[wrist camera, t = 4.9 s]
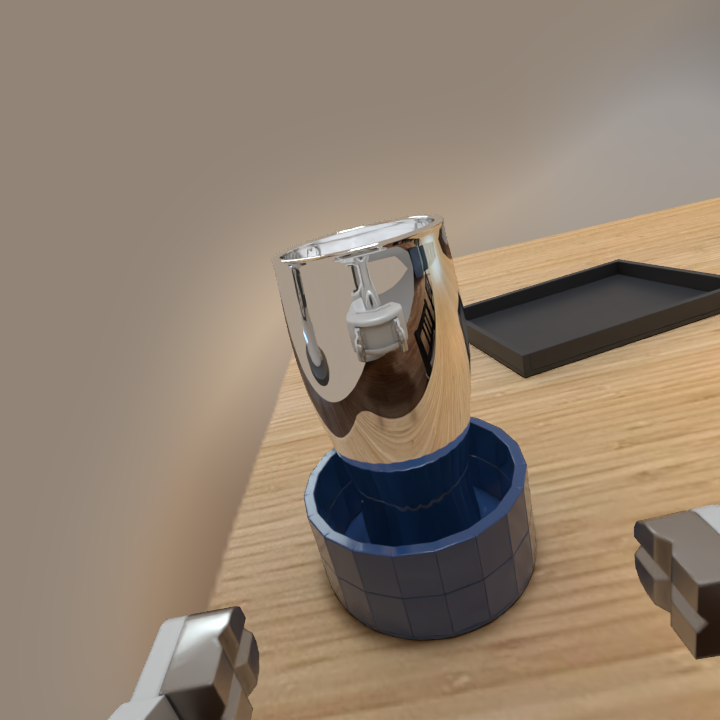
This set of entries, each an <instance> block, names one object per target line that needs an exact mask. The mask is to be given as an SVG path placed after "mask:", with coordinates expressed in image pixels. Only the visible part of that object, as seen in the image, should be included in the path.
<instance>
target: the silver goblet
mask: <svg viewBox="0 0 720 720" xmlns="http://www.w3.org/2000/svg"><path fill="white" fill-rule="evenodd" d="M271 261H272V264H273V266H274V270H275V274H276V278H277V283H278V287H279V292H280V297H281V302H282V306H283V310H284V315H285V319H286V324H287V328H288V332H289V336H290V340H291V343H292V347H293V351H294V354H295V358H296V362H297V365H298V368H299V370H300V373H301V376H302V379H303V382H304V385H305V388H306V391H307V393H308V395H309V398H310V400H311V402H312V404H313V406H314V409H315V411H316V413H317V415H318V417H319V419H320V422H321V423H322V425H323V427H324V429H325V431H326V433H327V435H328V437H329V439H330V441H331V443H332V445H333V446H334V448H335V450H336V452H337V454H338V456H339V457H340V459H341V461H342V463H343V465H344V467H345V469H346V471H347V473H348V475H349V477H350V479H351V481H352V483H353V485H354V487H355V489H356V492H357V495H358V497H359V500H360V504H361V508H362V513H363V523H364V539H365V543H370V544H377V545H385V546H392V547H395V546H404V545H412V544H420V543H429V542H434V541H437V540H439V539H442V538H445V537H447V536H450V535H453V534H455V533H458V532H461V531H464V530H466V529H468V528H470V527H471V526H473V525H474V524H475V523H477V522H478V521H480V520H481V519H482V518H484V517H485V516H484V514H483V512H482V509H481V507H480V505H479V502H478V500H477V497H476V494H475V491H474V488H473V484H472V479H471V474H470V464H469V435H470V407H471V366H470V349H469V341H468V333H467V325H466V319H465V314H464V308H463V303H462V298H461V293H460V288H459V284H458V280H457V276H456V272H455V267H454V264H453V260H452V256H451V252H450V248H449V245H448V241H447V237H446V232H445V227H444V218H443V217H442V216H441V215H437V214H425V215H415V216H407V217H401V218H395V219H389V220H385V221H379V222H375V223H370V224H366V225H362V226H357V227H353V228H349V229H346V230H342V231H338V232H334V233H331V234H327V235H324V236H321V237H318V238H315V239H311V240H308V241H305V242H303V243H300V244H297V245H294V246H292V247H289V248H287V249H285V250H283V251H281V252H279V253H277V254H276V255H274V256H273V257H272V259H271Z"/></svg>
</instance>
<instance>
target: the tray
mask: <svg viewBox="0 0 720 720" xmlns="http://www.w3.org/2000/svg"><path fill="white" fill-rule="evenodd" d="M463 308H464V314H465V319H466V325H467V333H468V341H469V343H471V344H472V345H474V346H476V347H477V348H479V349H480V350H482V351H484V352H485V353H487V354H488V355H490V356H491V357H493V358H495V359H496V360H498V361H499V362H501V363H502V364H504V365H506V366H507V367H509V368H510V369H512V370H513V371H515V372H517V373H518V374H520V375H521V376H523V377H525V378H526V377H529V376H532V375H535V374H538V373H541V372H544V371H547V370H550V369H553V368H556V367H559V366H562V365H565V364H568V363H571V362H574V361H577V360H580V359H583V358H586V357H589V356H592V355H595V354H598V353H601V352H604V351H607V350H610V349H613V348H616V347H619V346H622V345H625V344H628V343H631V342H634V341H637V340H640V339H643V338H646V337H649V336H652V335H655V334H658V333H661V332H664V331H667V330H670V329H673V328H676V327H679V326H682V325H685V324H689V323H692V322H695V321H698V320H701V319H704V318H707V317H710V316H713V315H716V314H719V313H720V275H716V274H710V273H703V272H697V271H690V270H684V269H677V268H671V267H664V266H658V265H651V264H645V263H639V262H632V261H626V260H619V259H618V260H615V261H612V262H608V263H605V264H602V265H598V266H595V267H592V268H589V269H585V270H582V271H579V272H575V273H572V274H569V275H566V276H562V277H559V278H556V279H552V280H549V281H546V282H543V283H539V284H536V285H533V286H529V287H526V288H523V289H519V290H516V291H513V292H510V293H506V294H503V295H500V296H496V297H493V298H490V299H487V300H483V301H480V302H477V303H473V304H470V305H467V306H463Z"/></svg>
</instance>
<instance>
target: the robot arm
mask: <svg viewBox="0 0 720 720" xmlns="http://www.w3.org/2000/svg"><path fill="white" fill-rule="evenodd" d="M634 537H635V538H636V539H637V541H638V542H639V543H640V544H641V546H640V547H639V549H638V550H637V551H636V553H635V567H636V570H637V573H638V576H639V579H640V582H641V584H642V585H643V587H644V589H645V591H646V593H647V594H648V595H649V597H650V598H651V600H652V601H653V602H654V604H655V605H657V606H659V607H661V608H662V609H664V610H666V611H668V612H670V613H671V627H672V628H673V630H674V631H675V632H676V634H677V635H678V636H679V638H680V639H681V640H682V642H683V643H684V644H685V646H686V647H687V648H688V650H689V651H690V652H691V654H692V655H693V656H694V658H695V659H702V658H708V657H714V656H720V506H719V505H717V504H713V505H708V506H703V507H699V508H694V509H690V510H688V511H686V510H685V511H680V512H676V513H671V514H667V515H662V516H658V517H653V518H649V519H644V520H640V521H637V522H636V524H635V526H634ZM245 619H246V618H245V616H244V614H243V612H242V610H241V608H240V607H236V606H235V607H229V608H224V609H218V610H213V611H207V612H202V613H196V614H191V615H188V616H182V617H177V618H171V619H167V620H166V621H165V622H164V623H163V624H162V625H161V627H160V629H159V632H158V634H157V636H156V639H155V641H154V644H153V646H152V649H151V651H150V653H149V656H148V658H147V661H146V663H145V666H144V668H143V671H142V673H141V675H140V678H139V680H138V683H137V685H136V688H135V690H134V693H133V695H132V697H131V700H130V702H127V703H123V704H121V706H120V707H119V708H118V709H117V710H116V711H115V712H114V713H113V714H112V715H111V716H110V718H109V719H108V720H251V717H252V711H253V708H252V706H251V703H250V701H249V699H248V696H249V695H250V694H251V692H252V691H253V689H254V688H255V687H256V685H257V681H258V674H259V651H258V647H257V643H256V640H255V638H254V635H253V633H252V632H250V631H248V630H246V629H245V628H244V623H245Z"/></svg>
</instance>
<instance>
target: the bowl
mask: <svg viewBox="0 0 720 720" xmlns="http://www.w3.org/2000/svg"><path fill="white" fill-rule="evenodd" d="M469 464H470V474H471V479H472V484H473V488H474V491H475V494H476V497H477V500H478V502H479V505H480V507H481V509H482V512H483V514H484V516H485V517H484V518H482V519H481V520H480V521H478V522H477V523H475V524H474V525H473V526H471V527H470V528H468V529H466V530H464V531H461V532H458V533H455V534H453V535H450V536H447V537H445V538H442V539H439V540H437V541H434V542H429V543H420V544H412V545H404V546H395V547H392V546H385V545H377V544H370V543H365V539H364V523H363V513H362V508H361V504H360V500H359V497H358V495H357V492H356V489H355V487H354V485H353V483H352V481H351V479H350V477H349V475H348V473H347V471H346V469H345V467H344V465H343V463H342V461H341V459H340V457H339V456H338V454H337V452H336V450H335V448H333V449H332V450H330V451H329V452H328V453H327V454H325V456H323V458H322V459H321V461H320V462H319V463H318V465H317V466H316V467H315V469H314V470H313V471H312V473H311V474H310V476H309V480H308V483H307V487H306V490H305V494H304V501H305V506H306V512H307V517H308V520H309V523H310V526H311V529H312V532H313V534H314V537H315V540H316V543H317V546H318V549H319V552H320V554H321V557H322V560H323V563H324V566H325V569H326V572H327V575H328V577H329V580H330V583H331V586H332V588H333V591H334V592H335V593H336V595H337V597H338V599H339V600H340V602H341V603H342V604H343V606H344V607H345V608H346V610H347V611H349V612H350V613H351V614H352V615H353V616H354V617H355V618H356V619H358V620H359V621H360V622H362V623H363V624H365V625H366V626H368V627H370V628H372V629H374V630H376V631H379V632H381V633H384V634H388V635H391V636H394V637H399V638H405V639H415V640H432V639H443V638H448V637H453V636H458V635H461V634H464V633H467V632H470V631H473V630H475V629H477V628H479V627H481V626H483V625H485V624H488V623H489V622H491V621H492V620H494V619H495V618H497V617H498V616H500V615H501V614H502V613H503V612H505V611H506V610H507V609H508V608H509V607H510V606H511V605H512V604H513V603H514V602H515V601H516V600H517V599H518V597H519V596H520V595H521V594H522V592H523V590H524V589H525V587H526V586H527V584H528V582H529V579H530V577H531V574H532V572H533V568H534V563H535V551H536V548H535V547H536V537H535V528H534V520H533V512H532V504H531V495H530V487H529V479H528V471H527V464H526V462H525V459H524V457H523V454H522V452H521V450H520V447H519V445H518V443H517V442H515V441H514V440H513V439H512V438H511V437H510V436H509V435H508V434H506V433H505V432H504V431H503V430H502V429H500V428H499V427H497V426H494V425H492V424H490V423H487V422H485V421H483V420H481V419H478V418H474V417H470V435H469Z"/></svg>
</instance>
